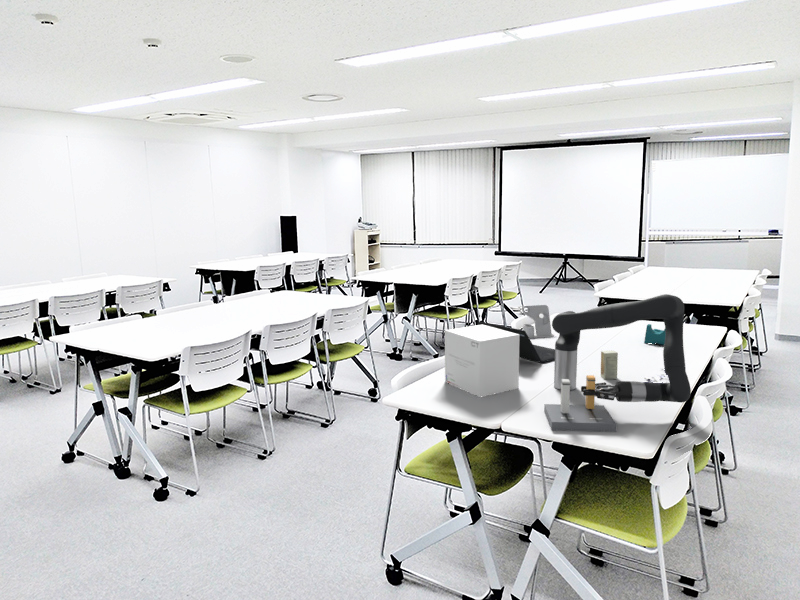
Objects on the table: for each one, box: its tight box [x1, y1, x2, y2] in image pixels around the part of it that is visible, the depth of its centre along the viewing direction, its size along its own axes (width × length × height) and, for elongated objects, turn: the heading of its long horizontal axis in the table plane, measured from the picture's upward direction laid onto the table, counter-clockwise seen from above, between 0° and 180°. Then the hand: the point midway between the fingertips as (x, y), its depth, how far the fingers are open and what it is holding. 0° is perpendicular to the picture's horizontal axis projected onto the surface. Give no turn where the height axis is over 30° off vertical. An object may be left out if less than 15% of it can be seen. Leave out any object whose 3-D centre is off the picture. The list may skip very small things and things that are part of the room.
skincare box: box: [600, 350, 619, 380], centre depth 254 cm, size 6×4×12 cm
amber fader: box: [584, 374, 597, 409], centre depth 207 cm, size 3×3×12 cm
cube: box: [444, 324, 520, 398], centre depth 246 cm, size 25×21×24 cm
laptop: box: [477, 320, 555, 364], centre depth 293 cm, size 33×38×19 cm
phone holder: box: [521, 304, 555, 339], centre depth 337 cm, size 17×10×18 cm, turn 99°
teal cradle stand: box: [643, 323, 665, 346], centre depth 317 cm, size 18×11×10 cm, turn 141°
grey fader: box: [560, 379, 571, 413], centre depth 204 cm, size 3×3×12 cm
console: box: [543, 403, 617, 433], centre depth 204 cm, size 18×22×3 cm
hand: (582, 390), depth 208 cm, fingers closed on amber fader, 3 cm apart
